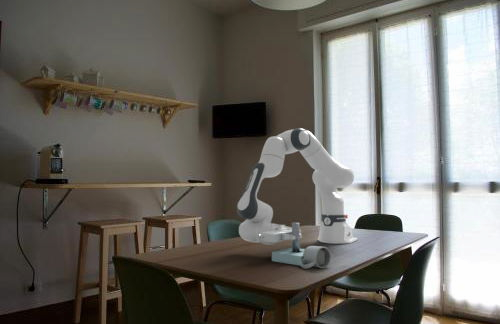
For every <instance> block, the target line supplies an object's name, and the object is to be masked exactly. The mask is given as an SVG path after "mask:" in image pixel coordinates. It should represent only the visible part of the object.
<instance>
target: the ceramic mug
mask: <svg viewBox="0 0 500 324" xmlns="http://www.w3.org/2000/svg"><path fill="white" fill-rule="evenodd" d="M304 249H305V250H304V253H303V260H302V261H301V262H300V265H301V266H300V267H301V268H302V269H310V268H312V267H316V268H319V269H326V268H327V267H328V266H329V265H330V262H331V259H332V257H331V251H330V250H329V248H328V247H326V246H321V245H319V246H317V245H309V246H307V247H306V248H304ZM305 262H306V263H307V264H306V265H303V264H304V263H305Z"/></svg>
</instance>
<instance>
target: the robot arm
mask: <svg viewBox="0 0 500 324" xmlns="http://www.w3.org/2000/svg"><path fill="white" fill-rule="evenodd" d="M296 152H299V153H300V154H301V156H302V157H303V158H304V160H305V161H306V162H307V164H308V166H310V168H312V169H313V170H314V171H313V173H312V176H311V177H312V182H313V184H314V185H315V186H316V187H317V189H318V192H319V195H320V198H321V208H322V209H321V223H320V225H319V231H318V232H319V233H318V237H317V239H316V240H317V241H319V242H320V243H322V244H323V243H325V244H352V243H353V242H355V241H357V240H358V237H354V236H353V235H354V234H353V229H352V228H351V226H350V225H349V224H348V223H347V220H346V219H348V218H349V217H348V216H349V215H348V214H345V210H344V206H345V205H344V198H343V197H342V196H341V195H340V193H339V192H338V189H342V188H347V187H349V186H351V185H352V184H353V183H354V178H355V175H354V172H353V171H352V169H351V168H350V167H347V166H345V165H344V164H342V163H340V162H339V161H338V160H336V159H335V158H334V157H332V155H330V153H329V152H328V151H327V150H326V149H325V147H324V146H323V145H322V143H321V141H320V140H318V138H317V137H316V136H315V135H314V134H313V133H312V132H311V131H309V130H307V129H305V128H301V127H298V128H294V129H288V130H285V131H284V132H282V133H280V134H276V135H275V136H270V137H268V138H267V139H266V141H265V143H264V145H263V148H262V150H261V154H260V158H259V161H258V162H257V163H255V165H254V166H253V167H252V169H251V171H250V174H249V177H248V179H247V182H246V184H245V187H244V189H243V191H242V194H241V196H240V198H239V199H238V201H237V203H236V211H237V212H236V213H237V215H238V216H239V217H241V218H242V219H244V221H243V222H241V223H240V224H239V226H238V234H239V236H240V238H241V239H242V240H244V241H247V242H249V243H257V244H258V243H261V244H264V245H271V246H274V245H276V244H277V243H280V242H284V241H290V240H291V241H292V240H294V239H296V238H295V237H296V236H295V235H292V226H286V224H277V223H272V221H273V218H274V209H273V207H272V205H269V204H268V203H265V202H264V201H262V200H260V199H258V193H259V189H260V186H261V184H262V181H263V180H264V179H267V178H275V177H277V176H278V175H280V174H281V172H282V170H283V167H284V164H285V163H284V162H285V158H286V155H289V154H290V155H291V154H294V153H296ZM302 238H303V236H302V229H300V239H302Z"/></svg>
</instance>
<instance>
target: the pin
mask: <svg viewBox="0 0 500 324" xmlns="http://www.w3.org/2000/svg"><path fill="white" fill-rule="evenodd" d="M291 227H292V235H295V236H296V237H295V238H296V239H294V240H291V248H292V252H295V253H299V252H300V248H301V247H300V245H301V244H300V243H301V242H300V239H301V238H300V230H301V227H300V222H291Z"/></svg>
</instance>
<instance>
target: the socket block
mask: <svg viewBox="0 0 500 324" xmlns="http://www.w3.org/2000/svg"><path fill="white" fill-rule="evenodd" d="M305 249H306V248H301V247H300V252H299V253H295V252H292V247H288V248H283V249H279V250H278V249H277V250H275V251H271V262H276V263H282V264H289V265H294V266H300V267H301V265H300V262H301V261H302V260H303V253H304V250H305ZM306 264H307V263H306V262H305V263H304V264H303V265H306Z"/></svg>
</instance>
